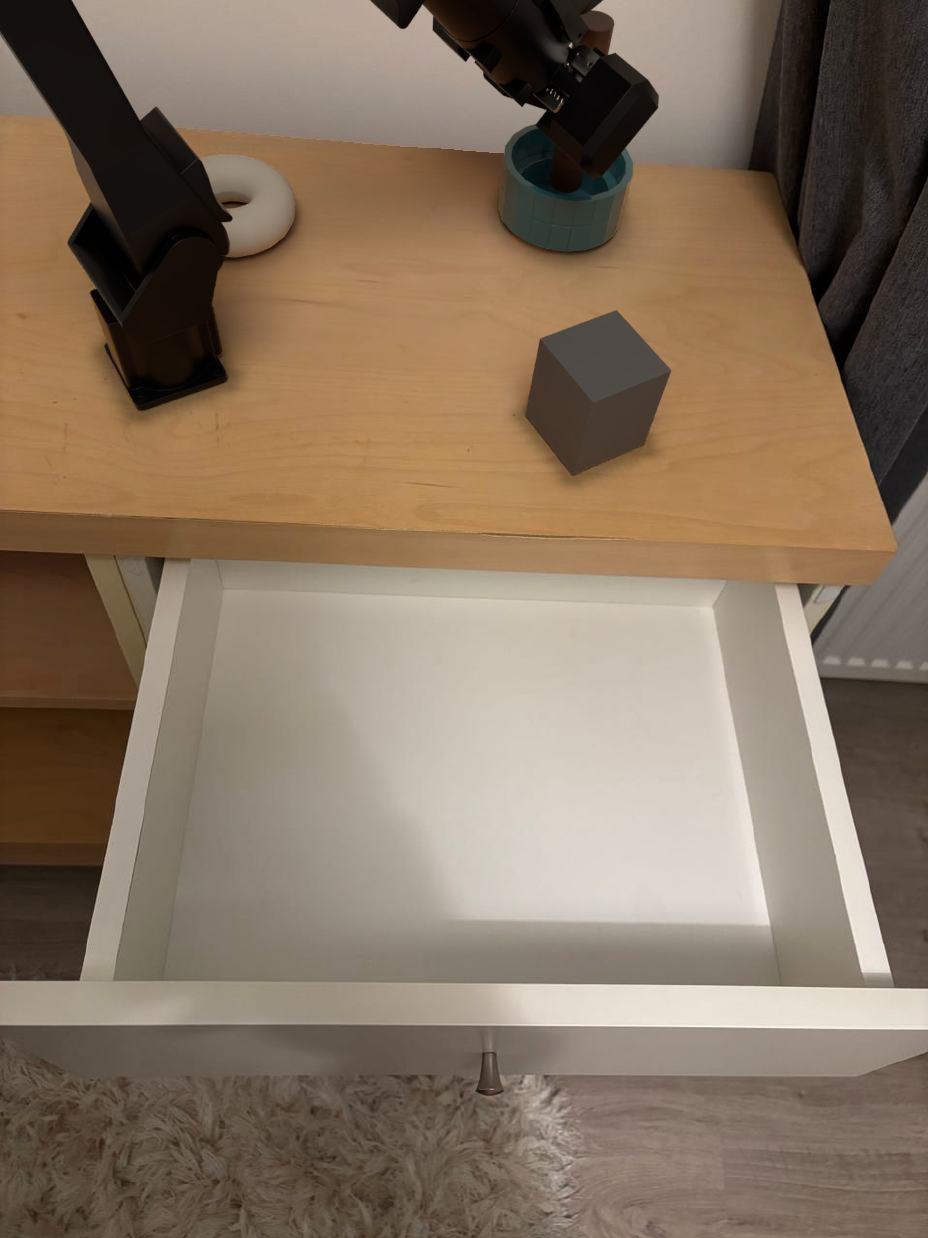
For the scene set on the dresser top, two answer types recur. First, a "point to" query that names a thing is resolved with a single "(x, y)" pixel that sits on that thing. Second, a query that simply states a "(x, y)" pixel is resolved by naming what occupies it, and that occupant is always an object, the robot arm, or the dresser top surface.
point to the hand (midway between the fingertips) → (590, 122)
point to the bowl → (559, 197)
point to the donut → (251, 201)
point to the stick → (598, 35)
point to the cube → (595, 391)
